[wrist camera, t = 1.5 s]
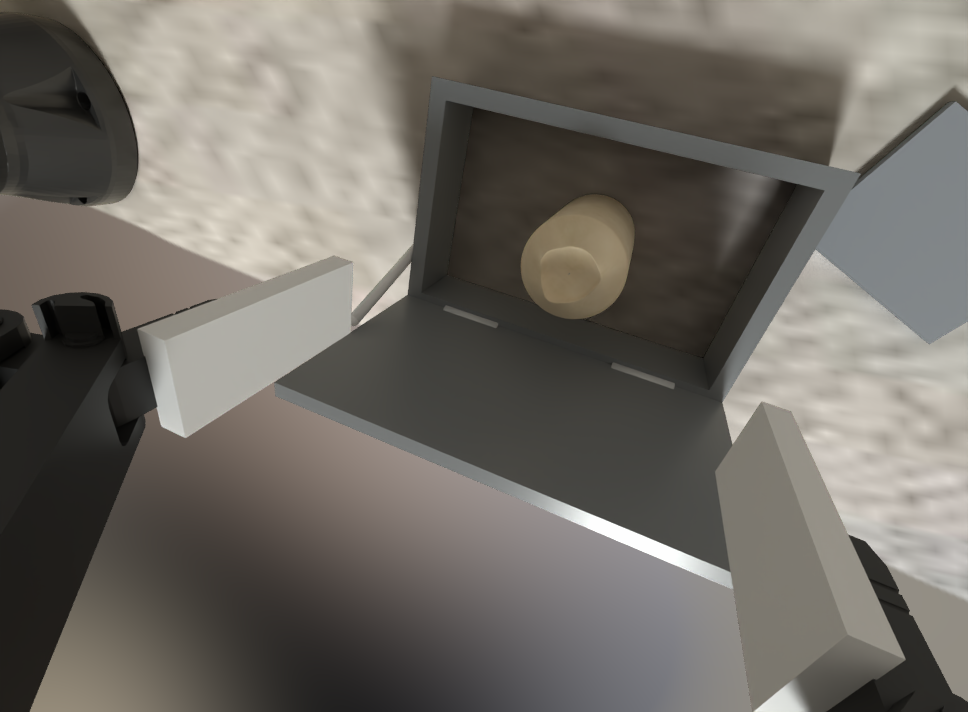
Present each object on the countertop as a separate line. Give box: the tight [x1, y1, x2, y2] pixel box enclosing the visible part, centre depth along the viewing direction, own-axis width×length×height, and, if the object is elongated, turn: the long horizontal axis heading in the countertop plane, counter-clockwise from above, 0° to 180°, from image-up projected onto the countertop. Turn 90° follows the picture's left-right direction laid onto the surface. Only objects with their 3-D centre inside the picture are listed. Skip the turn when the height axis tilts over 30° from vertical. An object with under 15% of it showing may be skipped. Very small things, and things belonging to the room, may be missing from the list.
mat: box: [816, 101, 968, 344], centre depth 23 cm, size 10×8×1 cm
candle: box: [521, 194, 635, 319], centre depth 25 cm, size 6×6×10 cm
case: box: [275, 76, 861, 589], centre depth 22 cm, size 23×14×18 cm, turn 78°
